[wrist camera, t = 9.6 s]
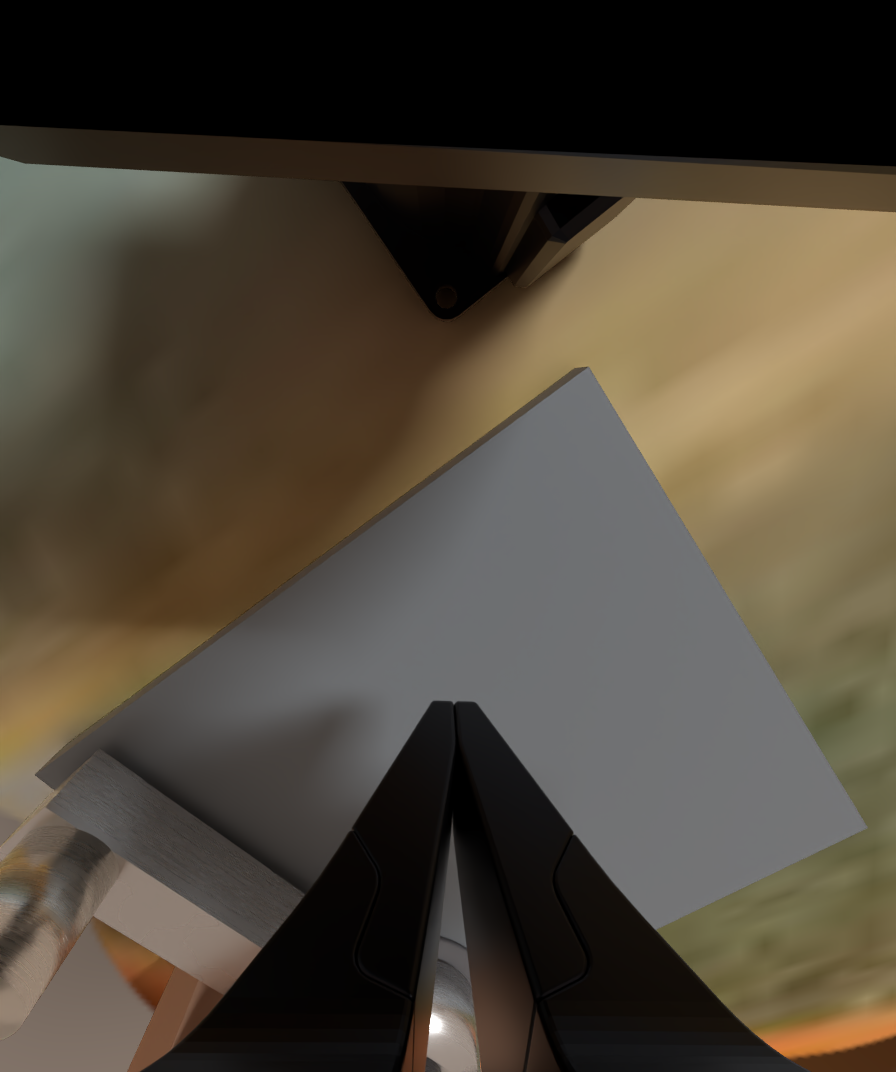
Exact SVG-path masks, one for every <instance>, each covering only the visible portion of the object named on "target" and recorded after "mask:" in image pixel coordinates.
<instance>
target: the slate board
mask: <svg viewBox="0 0 896 1072" xmlns="http://www.w3.org/2000/svg"><path fill="white" fill-rule="evenodd" d="M435 700H439V701H452V702H453V704H455V702H456V701H473V702H476V703H477V704H478V705H479V707H480V708H481V709H482V711H483V712H484V713H485V715H486V716H487V717H488V719H489V720H490V721H491V723H492V724H493V725H494V727H495V728H496V729H497V731H498V732H499V733H500V734H501V736H502V737H503V738H504V740H505V741H506V742H507V744H508V745H509V746H510V748H511V749H512V750H513V752H514V753H515V754H516V756H517V757H518V758H519V760H520V761H521V762H522V764H523V765H524V766H525V768H526V769H527V770H528V772H529V773H530V774H531V776H532V777H533V778H534V780H535V781H536V782H537V784H538V785H539V786H540V788H541V789H542V790H543V792H544V793H545V794H546V796H547V797H548V798H549V800H550V801H551V802H552V803H553V805H554V806H555V807H556V809H557V810H558V811H559V813H560V814H561V815H562V817H563V818H564V819H565V821H566V822H567V823H568V825H569V826H570V827H571V829H572V830H573V832H574V835H577V836H578V838H579V839H580V840H581V842H582V843H583V844H584V846H585V847H586V848H587V850H588V851H589V852H590V854H591V855H592V856H593V857H594V859H595V860H596V861H597V863H598V864H599V865H600V866H601V868H602V869H603V870H604V871H605V873H606V874H607V875H608V876H609V878H610V879H611V880H612V881H613V883H614V884H615V885H616V886H617V887H618V888H619V889H620V891H621V892H622V893H623V894H624V895H625V896H626V897H627V899H628V900H629V901H630V902H631V903H632V904H633V905H634V907H635V908H636V909H637V910H638V911H639V912H640V913H641V915H642V916H643V917H644V918H645V919H646V920H647V921H648V922H649V923H650V924H651V925H652V927H653V928H654V929H655V930H656V929H658V928H660V927H662V926H665V925H667V924H669V923H671V922H673V921H675V920H677V919H679V918H681V917H683V916H685V915H687V914H690V913H692V912H694V911H696V910H698V909H700V908H702V907H704V906H706V905H708V904H710V903H712V902H714V901H717V900H719V899H721V898H723V897H725V896H727V895H729V894H731V893H733V892H735V891H737V890H739V889H742V888H744V887H746V886H748V885H750V884H752V883H754V882H756V881H758V880H760V879H762V878H764V877H766V876H769V875H771V874H773V873H775V872H777V871H779V870H781V869H783V868H785V867H787V866H789V865H791V864H794V863H796V862H798V861H800V860H802V859H804V858H806V857H808V856H810V855H812V854H814V853H816V852H818V851H821V850H823V849H825V848H827V847H829V846H831V845H833V844H835V843H837V842H839V841H841V840H843V839H846V838H848V837H850V836H852V835H854V834H856V833H858V832H860V831H862V830H864V829H866V828H868V827H867V826H866V824H865V822H864V821H863V819H862V817H861V816H860V814H859V812H858V811H857V809H856V808H855V806H854V804H853V803H852V801H851V799H850V798H849V796H848V794H847V793H846V791H845V789H844V788H843V786H842V784H841V783H840V781H839V779H838V778H837V776H836V774H835V773H834V771H833V770H832V768H831V766H830V765H829V763H828V761H827V760H826V758H825V756H824V755H823V753H822V751H821V750H820V748H819V746H818V745H817V743H816V741H815V740H814V738H813V736H812V735H811V733H810V732H809V730H808V728H807V727H806V725H805V723H804V722H803V720H802V718H801V717H800V715H799V713H798V712H797V710H796V708H795V707H794V705H793V703H792V702H791V700H790V698H789V697H788V695H787V694H786V692H785V690H784V689H783V687H782V685H781V684H780V682H779V680H778V679H777V677H776V675H775V674H774V672H773V670H772V669H771V667H770V665H769V664H768V662H767V660H766V659H765V657H764V656H763V654H762V652H761V651H760V649H759V647H758V646H757V644H756V642H755V641H754V639H753V637H752V636H751V634H750V632H749V631H748V629H747V627H746V626H745V624H744V622H743V621H742V619H741V618H740V616H739V614H738V613H737V611H736V609H735V608H734V606H733V604H732V603H731V601H730V599H729V598H728V596H727V594H726V593H725V591H724V589H723V588H722V586H721V584H720V583H719V581H718V580H717V578H716V576H715V575H714V573H713V571H712V570H711V568H710V566H709V565H708V563H707V561H706V560H705V558H704V556H703V555H702V553H701V551H700V550H699V548H698V546H697V545H696V543H695V542H694V540H693V538H692V537H691V535H690V533H689V532H688V530H687V528H686V527H685V525H684V523H683V522H682V520H681V518H680V517H679V515H678V513H677V512H676V510H675V508H674V507H673V505H672V504H671V502H670V500H669V499H668V497H667V495H666V494H665V492H664V490H663V489H662V487H661V485H660V484H659V482H658V480H657V479H656V477H655V475H654V474H653V472H652V470H651V469H650V467H649V466H648V464H647V462H646V461H645V459H644V457H643V456H642V454H641V452H640V451H639V449H638V447H637V446H636V444H635V442H634V441H633V439H632V437H631V436H630V434H629V433H628V431H627V429H626V428H625V426H624V424H623V423H622V421H621V419H620V418H619V416H618V414H617V413H616V411H615V409H614V408H613V406H612V404H611V403H610V401H609V399H608V398H607V396H606V395H605V393H604V391H603V390H602V388H601V386H600V385H599V383H598V381H597V380H596V378H595V376H594V375H593V373H592V371H591V370H590V368H589V367H581V368H575V369H573V370H572V371H570V372H569V373H568V374H566V375H565V376H564V377H562V378H561V379H560V380H558V381H557V382H556V383H554V384H553V385H552V386H550V387H549V388H547V389H546V390H545V391H543V392H542V393H541V394H539V395H538V396H537V397H535V398H534V399H533V400H531V401H530V402H529V403H527V404H526V405H525V406H523V407H522V408H520V409H519V410H518V411H516V412H515V413H514V414H512V415H511V416H510V417H508V418H507V419H506V420H504V421H503V422H502V423H500V424H499V425H498V426H496V427H495V428H493V429H492V430H491V431H489V432H488V433H487V434H485V435H484V436H483V437H481V438H480V439H479V440H477V441H476V442H475V443H473V444H472V445H471V446H469V447H468V448H466V449H465V450H464V451H462V452H461V453H460V454H458V455H457V456H456V457H454V458H453V459H452V460H450V461H449V462H448V463H446V464H445V465H444V466H442V467H441V468H439V469H438V470H437V471H435V472H434V473H433V474H431V475H430V476H429V477H427V478H426V479H425V480H423V481H422V482H421V483H419V484H418V485H416V486H415V487H414V488H412V489H411V490H410V491H408V492H407V493H406V494H404V495H403V496H402V497H400V498H399V499H398V500H396V501H395V502H394V503H392V504H391V505H389V506H388V507H387V508H385V509H384V510H383V511H381V512H380V513H379V514H377V515H376V516H375V517H373V518H372V519H371V520H369V521H368V522H367V523H365V524H364V525H362V526H361V527H360V528H358V529H357V530H356V531H354V532H353V533H352V534H350V535H349V536H348V537H346V538H345V539H344V540H342V541H341V542H340V543H338V544H337V545H335V546H334V547H333V548H331V549H330V550H329V551H327V552H326V553H325V554H323V555H322V556H321V557H319V558H318V559H317V560H315V561H314V562H313V563H311V564H310V565H308V566H307V567H306V568H304V569H303V570H302V571H300V572H299V573H298V574H296V575H295V576H294V577H292V578H291V579H290V580H288V581H287V582H286V583H284V584H283V585H281V586H280V587H279V588H277V589H276V590H275V591H273V592H272V593H271V594H269V595H268V596H267V597H265V598H264V599H263V600H261V601H260V602H258V603H257V604H256V605H254V606H253V607H252V608H250V609H249V610H248V611H246V612H245V613H244V614H242V615H241V616H240V617H238V618H237V619H236V620H234V621H233V622H231V623H230V624H229V625H227V626H226V627H225V628H223V629H222V630H221V631H219V632H218V633H217V634H215V635H214V636H213V637H211V638H210V639H209V640H207V641H206V642H204V643H203V644H202V645H200V646H199V647H198V648H196V649H195V650H194V651H192V652H191V653H190V654H188V655H187V656H186V657H184V658H183V659H182V660H180V661H179V662H177V663H176V664H175V665H173V666H172V667H171V668H169V669H168V670H167V671H165V672H164V673H163V674H161V675H160V676H159V677H157V678H156V679H155V680H153V681H152V682H150V683H149V684H148V685H146V686H145V687H144V688H142V689H141V690H140V691H138V692H137V693H136V694H134V695H133V696H132V697H130V698H129V699H127V700H126V701H125V702H123V703H122V704H121V705H119V706H118V707H117V708H115V709H114V710H113V711H111V712H110V713H109V714H107V715H106V716H105V717H103V718H102V719H100V720H99V721H98V722H96V723H95V724H94V725H92V726H91V727H90V728H88V729H87V730H86V731H84V732H83V733H82V734H80V735H79V736H78V737H76V738H75V739H73V740H72V741H71V742H69V743H68V744H67V745H65V746H64V747H63V748H62V749H61V750H60V751H59V752H58V753H57V754H56V755H55V756H54V757H53V758H52V759H51V760H50V761H49V762H47V763H46V764H45V765H44V766H43V767H42V768H41V769H40V770H39V771H38V772H37V773H36V774H35V776H37V777H38V778H39V779H41V780H42V781H43V782H45V783H46V784H47V785H48V786H50V787H51V788H52V789H54V790H55V789H56V788H57V787H58V786H59V785H60V784H61V783H62V782H64V781H65V780H66V779H67V778H68V777H69V776H70V775H71V774H72V773H73V772H75V771H76V770H77V769H78V768H79V767H80V766H81V765H82V764H83V763H84V762H85V761H87V760H88V759H89V758H90V757H91V756H92V755H93V754H94V753H95V752H96V751H98V750H99V749H101V750H102V751H104V752H105V753H106V754H108V755H109V756H111V757H112V758H114V759H115V760H116V761H118V762H119V763H121V764H122V765H123V766H125V767H126V768H128V769H129V770H130V771H132V772H133V773H135V774H136V775H138V776H139V777H140V778H142V779H143V780H145V781H146V782H147V783H149V784H150V785H152V786H153V787H154V788H156V789H157V790H159V791H160V792H161V793H163V794H164V795H166V796H167V797H169V798H170V799H171V800H173V801H174V802H176V803H177V804H178V805H180V806H181V807H183V808H184V809H185V810H187V811H188V812H190V813H191V814H193V815H194V816H195V817H197V818H198V819H200V820H201V821H202V822H204V823H205V824H207V825H208V826H209V827H211V828H212V829H214V830H215V831H216V832H218V833H219V834H221V835H222V836H224V837H225V838H226V839H228V840H229V841H231V842H232V843H233V844H235V845H236V846H238V847H239V848H240V849H242V850H243V851H245V852H246V853H247V854H249V855H250V856H252V857H253V858H255V859H256V860H257V861H259V862H260V863H262V864H263V865H264V866H266V867H267V868H269V869H270V870H271V871H273V872H274V873H276V874H277V875H279V876H280V877H281V878H283V879H284V880H286V881H287V882H288V883H290V884H291V885H293V886H294V887H295V888H297V889H298V890H300V891H301V892H302V893H304V894H306V893H307V891H308V890H309V889H310V888H311V886H312V885H313V884H314V882H315V881H316V880H317V878H318V877H319V875H320V874H321V873H322V871H323V870H324V868H325V867H326V865H327V864H328V862H329V861H330V859H331V858H332V856H333V855H334V854H335V852H336V851H337V849H338V847H339V846H340V844H341V843H342V841H343V840H344V838H345V836H346V835H347V833H348V832H349V831H351V828H352V826H353V824H354V823H355V821H356V820H357V818H358V816H359V815H360V813H361V812H362V810H363V809H364V807H365V805H366V804H367V802H368V801H369V799H370V798H371V796H372V794H373V793H374V791H375V790H376V788H377V787H378V785H379V783H380V782H381V780H382V779H383V777H384V776H385V774H386V773H387V771H388V769H389V768H390V766H391V765H392V763H393V762H394V760H395V758H396V757H397V755H398V754H399V752H400V751H401V749H402V747H403V746H404V744H405V743H406V741H407V740H408V738H409V736H410V735H411V733H412V732H413V730H414V729H415V727H416V725H417V724H418V722H419V721H420V719H421V718H422V716H423V714H424V713H425V711H426V710H427V708H428V707H429V705H430V704H431V702H432V701H435ZM437 960H438V961H441V962H444V963H446V964H448V965H450V966H452V967H453V968H455V969H456V970H458V971H459V972H460V973H461V974H463V975H464V977H465V978H466V979H467V980H468V982H469V983H470V985H471V979H470V971H469V963H468V954H467V946H466V938H465V930H464V921H463V913H462V905H461V897H460V888H459V880H458V872H457V864H456V855H455V847H454V837H453V823H452V830H451V842H450V851H449V860H448V869H447V878H446V887H445V896H444V905H443V914H442V923H441V932H440V941H439V950H438V959H437ZM474 1013H475V1012H474Z"/></svg>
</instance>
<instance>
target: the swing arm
mask: <svg viewBox="0 0 896 1072" xmlns="http://www.w3.org/2000/svg"><path fill="white" fill-rule="evenodd" d="M0 860H1V862H0V1041H1V1040H4V1039H6V1038H8V1037H10V1036H12V1035H13V1034H14V1033H16V1031H18V1030H19V1028H20V1027H21V1026H22V1024H23V1023H24V1021H25V1019H26V1018H27V1017H28V1015H29V1013H30V1012H31V1010H32V1008H33V1007H34V1006H35V1004H36V1003H37V1001H38V1000H39V998H40V997H41V995H42V994H43V992H44V990H45V989H46V987H47V986H48V984H49V983H50V981H51V980H52V978H53V977H54V975H55V974H56V972H57V971H58V969H59V967H60V966H61V964H62V963H63V961H64V960H65V958H66V957H67V955H68V954H69V952H70V951H71V949H72V948H73V946H74V944H75V943H76V941H77V940H78V938H79V937H80V935H81V934H82V932H83V931H84V929H85V928H86V926H87V925H88V923H89V922H90V920H91V918H92V917H93V916H94V917H95V918H97V919H99V920H100V921H102V922H104V923H105V924H107V925H109V926H110V927H112V928H114V929H115V930H117V931H119V932H120V933H122V934H123V935H125V936H127V937H128V938H130V939H132V940H133V941H135V942H137V943H138V944H140V945H142V946H143V947H145V948H147V949H148V950H150V951H152V952H153V953H155V954H157V955H158V956H160V957H161V958H163V959H165V960H166V961H168V962H170V963H171V964H173V965H175V966H176V967H178V968H180V969H181V970H183V971H185V972H186V973H188V974H190V975H191V976H193V977H194V978H196V979H198V980H199V981H201V982H203V983H204V984H206V985H208V986H209V987H211V988H213V989H214V990H216V991H218V992H219V993H221V994H223V995H225V993H226V992H227V991H228V990H229V988H230V987H231V986H232V985H233V983H234V982H235V981H236V980H237V979H238V977H239V976H240V975H241V974H242V972H243V971H244V970H245V969H246V967H247V966H248V965H249V964H250V963H251V961H252V960H253V959H254V958H255V956H256V955H257V954H258V953H259V951H260V950H261V949H262V948H263V947H264V945H265V944H266V943H267V942H268V940H269V939H270V938H271V937H272V935H273V934H274V933H275V932H276V931H277V929H278V928H279V927H280V926H281V924H282V923H283V922H284V921H285V919H286V918H287V917H288V916H289V915H290V913H291V912H292V911H293V910H294V908H295V907H296V906H297V904H298V903H299V902H300V900H301V899H302V898H303V897H304V895H305V894H304V893H302V892H301V891H300V890H298V889H297V888H295V887H294V886H293V885H291V884H290V883H288V882H287V881H286V880H284V879H283V878H281V877H280V876H279V875H277V874H276V873H274V872H273V871H271V870H270V869H269V868H267V867H266V866H264V865H263V864H262V863H260V862H259V861H257V860H256V859H255V858H253V857H252V856H250V855H249V854H247V853H246V852H245V851H243V850H242V849H240V848H239V847H238V846H236V845H235V844H233V843H232V842H231V841H229V840H228V839H226V838H225V837H224V836H222V835H221V834H219V833H218V832H216V831H215V830H214V829H212V828H211V827H209V826H208V825H207V824H205V823H204V822H202V821H201V820H200V819H198V818H197V817H195V816H194V815H193V814H191V813H190V812H188V811H187V810H185V809H184V808H183V807H181V806H180V805H178V804H177V803H176V802H174V801H173V800H171V799H170V798H169V797H167V796H166V795H164V794H163V793H161V792H160V791H159V790H157V789H156V788H154V787H153V786H152V785H150V784H149V783H147V782H146V781H145V780H143V779H142V778H140V777H139V776H138V775H136V774H135V773H133V772H132V771H130V770H129V769H128V768H126V767H125V766H123V765H122V764H121V763H119V762H118V761H116V760H115V759H114V758H112V757H111V756H109V755H108V754H106V753H105V752H104V751H102V750H101V749H99V750H98V751H96V752H95V753H94V754H93V755H92V756H91V757H90V758H89V759H88V760H87V761H85V762H84V763H83V764H82V765H81V766H80V767H79V768H78V769H77V770H76V771H75V772H73V773H72V774H71V775H70V776H69V777H68V778H67V779H66V780H65V781H64V782H62V783H61V784H60V785H59V786H58V787H57V788H56V789H55V790H54V791H53V792H52V793H51V794H50V795H49V796H48V797H47V798H46V799H45V800H44V801H43V802H42V803H41V804H40V805H39V806H38V807H37V808H36V809H35V810H34V812H33V813H32V814H31V815H30V816H29V817H28V818H27V819H26V820H25V821H24V822H23V823H22V824H21V825H20V826H19V827H18V828H17V830H16V831H15V832H14V833H13V834H12V835H11V836H10V837H9V838H8V839H7V840H6V841H5V842H4V843H3V844H2V845H1V846H0ZM425 1072H481V1071H480V1053H479V1045H478V1037H477V1029H476V1020H475V1013H474V1004H473V996H472V987H471V985H470V983H469V982H468V980H467V979H466V978H465V977H464V975H463V974H461V973H460V972H459V971H458V970H456V969H455V968H453V967H452V966H450V965H448V964H446V963H444V962H441V961H438V960H437V968H436V977H435V986H434V995H433V1004H432V1013H431V1022H430V1030H429V1039H428V1048H427V1057H426V1066H425Z"/></svg>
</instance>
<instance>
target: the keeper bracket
mask: <svg viewBox="0 0 896 1072" xmlns="http://www.w3.org/2000/svg"><path fill="white" fill-rule="evenodd" d="M223 996H224V995H223V994H221V993H219V992H218V991H216V990H214V989H213V988H211V987H209V986H208V985H206V984H204V983H203V982H201V981H199V980H198V979H196V978H194V977H193V976H191V975H190V974H188V973H186V972H185V971H183V970H181V969H180V968H178V967H176V966H175V968H174V970H173V972H172V974H171V977H170V979H169V981H168V983H167V985H166V988H165V990H164V992H163V994H162V996H161V999H160V1001H159V1003H158V1005H157V1007H156V1010H155V1012H154V1014H153V1016H152V1018H151V1021H150V1023H149V1025H148V1027H147V1029H146V1032H145V1034H144V1036H143V1038H142V1040H141V1043H140V1045H139V1047H138V1049H137V1051H136V1054H135V1056H134V1058H133V1060H132V1062H131V1064H130V1067H129V1069H128V1071H127V1072H140V1071H141V1070H143V1069H144V1068H146V1067H147V1066H149V1065H151V1064H152V1063H154V1062H155V1061H157V1060H158V1059H159V1058H161V1057H162V1056H164V1055H165V1054H166V1053H167V1052H169V1051H170V1050H171V1049H172V1048H174V1047H175V1046H176V1045H177V1044H178V1043H180V1042H181V1041H182V1040H183V1039H184V1038H185V1037H186V1036H187V1035H188V1034H189V1033H190V1032H191V1031H192V1030H193V1029H194V1028H195V1027H196V1026H197V1025H198V1024H199V1023H200V1022H201V1021H202V1020H203V1019H204V1018H205V1017H206V1016H207V1015H208V1014H209V1012H210V1011H211V1010H212V1009H213V1008H214V1007H215V1005H216V1004H217V1003H218V1002H219V1001H220V999H221V998H222V997H223Z"/></svg>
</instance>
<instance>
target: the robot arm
mask: <svg viewBox="0 0 896 1072" xmlns="http://www.w3.org/2000/svg"><path fill="white" fill-rule="evenodd" d="M0 156H1V157H4V158H7V159H11V160H14V161H18V162H21V163H25V164H43V165H61V166H79V167H97V168H115V169H133V170H150V171H168V172H186V173H204V174H222V175H240V176H258V177H275V178H293V179H311V180H329V181H340V182H341V183H342V185H343V186H344V188H345V189H346V191H347V192H348V193H349V195H350V196H351V198H352V199H353V201H354V202H355V204H356V205H357V207H358V208H359V210H360V211H361V213H362V214H363V215H364V217H365V218H366V220H367V221H368V223H369V224H370V226H371V227H372V229H373V230H374V232H375V233H376V234H377V236H378V237H379V239H380V240H381V242H382V243H383V245H384V246H385V248H386V249H387V251H388V252H389V254H390V255H391V256H392V258H393V259H394V261H395V262H396V264H397V265H398V267H399V268H400V270H401V271H402V273H403V274H404V275H405V277H406V278H407V280H408V281H409V283H410V284H411V286H412V287H413V289H414V290H415V292H416V293H417V294H418V296H419V297H420V299H421V300H422V302H423V303H424V305H425V306H426V308H427V309H428V311H429V312H430V313H431V314H432V315H433V316H434V317H435V318H436V319H438V320H441V321H443V322H446V321H453V320H455V319H457V318H458V317H460V316H461V315H462V314H463V313H465V312H466V311H467V310H468V309H470V308H471V307H472V306H473V305H475V304H476V303H477V302H478V301H480V300H481V299H482V298H483V297H485V296H486V295H487V294H488V293H490V292H491V291H492V290H493V289H495V288H496V287H497V286H498V285H500V284H501V283H502V282H503V281H505V280H506V279H507V278H508V277H509V279H510V280H511V282H512V283H513V285H514V286H518V287H524V288H527V287H528V286H529V285H531V284H532V283H533V282H534V281H536V280H537V279H538V278H539V277H541V276H542V275H543V274H545V273H546V272H547V271H548V270H550V269H551V268H552V267H553V266H555V265H556V264H557V263H558V262H560V261H561V260H562V259H563V258H565V257H566V256H567V255H569V254H570V253H571V252H572V251H574V250H575V249H576V248H577V247H579V246H580V245H581V244H582V243H584V242H585V241H586V240H587V239H589V238H590V237H591V236H593V235H594V234H595V233H596V232H598V231H599V230H600V229H601V228H603V227H604V226H605V225H606V224H608V223H609V222H610V221H611V220H613V219H614V218H615V217H616V216H617V215H618V214H619V213H620V212H622V211H623V210H624V209H625V208H626V207H627V206H628V205H629V204H630V203H631V202H632V201H633V200H634V199H635V198H651V199H668V200H686V201H704V202H722V203H740V204H758V205H776V206H793V207H811V208H829V209H847V210H865V211H883V212H896V0H0ZM443 288H450V289H452V290H453V291H454V292H455V294H456V297H457V301H456V303H455V304H454V306H453V307H451V308H448V309H446V308H442V307H441V306H440V305H438V303H437V300H436V295H437V293H438V292H439V291H440V290H441V289H443ZM452 823H453V837H454V847H455V855H456V864H457V872H458V880H459V888H460V897H461V905H462V913H463V921H464V930H465V938H466V946H467V954H468V963H469V971H470V979H471V987H472V996H473V1004H474V1012H475V1020H476V1029H477V1037H478V1045H479V1053H480V1062H481V1070H482V1072H810V1071H808V1070H807V1069H805V1068H803V1067H801V1066H800V1065H798V1064H796V1063H794V1062H793V1061H791V1060H789V1059H787V1058H786V1057H784V1056H783V1055H782V1054H780V1053H779V1052H777V1051H776V1050H774V1049H773V1048H772V1047H770V1046H769V1045H768V1044H767V1043H765V1042H764V1041H763V1040H762V1039H760V1038H759V1037H758V1036H757V1035H755V1034H754V1033H753V1032H752V1031H751V1030H750V1029H749V1028H748V1027H747V1026H745V1025H744V1024H743V1023H742V1022H741V1021H740V1020H739V1019H738V1018H737V1017H736V1016H735V1015H734V1014H733V1013H732V1012H731V1011H730V1010H729V1009H728V1008H727V1007H726V1006H725V1005H724V1004H723V1003H722V1002H721V1001H720V1000H719V999H718V997H717V996H716V995H715V994H714V993H713V992H712V991H711V990H710V989H709V988H708V987H707V985H706V984H705V983H704V982H703V981H702V980H701V979H700V978H699V977H698V976H697V975H696V973H695V972H694V971H693V970H692V969H691V968H690V967H689V966H688V965H687V964H686V963H685V961H684V960H683V959H682V958H681V957H680V956H679V955H678V954H677V953H676V952H675V951H674V949H673V948H672V947H671V946H670V945H669V944H668V943H667V942H666V941H665V940H664V939H663V937H662V936H661V935H660V934H659V933H658V932H657V931H656V930H655V929H654V928H653V927H652V925H651V924H650V923H649V922H648V921H647V920H646V919H645V918H644V917H643V916H642V915H641V913H640V912H639V911H638V910H637V909H636V908H635V907H634V905H633V904H632V903H631V902H630V901H629V900H628V899H627V897H626V896H625V895H624V894H623V893H622V892H621V891H620V889H619V888H618V887H617V886H616V885H615V884H614V883H613V881H612V880H611V879H610V878H609V876H608V875H607V874H606V873H605V871H604V870H603V869H602V868H601V866H600V865H599V864H598V863H597V861H596V860H595V859H594V857H593V856H592V855H591V854H590V852H589V851H588V850H587V848H586V847H585V846H584V844H583V843H582V842H581V840H580V839H579V838H578V836H577V835H574V832H573V830H572V829H571V827H570V826H569V825H568V823H567V822H566V821H565V819H564V818H563V817H562V815H561V814H560V813H559V811H558V810H557V809H556V807H555V806H554V805H553V803H552V802H551V801H550V800H549V798H548V797H547V796H546V794H545V793H544V792H543V790H542V789H541V788H540V786H539V785H538V784H537V782H536V781H535V780H534V778H533V777H532V776H531V774H530V773H529V772H528V770H527V769H526V768H525V766H524V765H523V764H522V762H521V761H520V760H519V758H518V757H517V756H516V754H515V753H514V752H513V750H512V749H511V748H510V746H509V745H508V744H507V742H506V741H505V740H504V738H503V737H502V736H501V734H500V733H499V732H498V731H497V729H496V728H495V727H494V725H493V724H492V723H491V721H490V720H489V719H488V717H487V716H486V715H485V713H484V712H483V711H482V709H481V708H480V707H479V705H478V704H477V703H476V702H473V701H456V702H455V704H453V702H452V701H439V700H435V701H432V702H431V704H430V705H429V707H428V708H427V710H426V711H425V713H424V714H423V716H422V718H421V719H420V721H419V722H418V724H417V725H416V727H415V729H414V730H413V732H412V733H411V735H410V736H409V738H408V740H407V741H406V743H405V744H404V746H403V747H402V749H401V751H400V752H399V754H398V755H397V757H396V758H395V760H394V762H393V763H392V765H391V766H390V768H389V769H388V771H387V773H386V774H385V776H384V777H383V779H382V780H381V782H380V783H379V785H378V787H377V788H376V790H375V791H374V793H373V794H372V796H371V798H370V799H369V801H368V802H367V804H366V805H365V807H364V809H363V810H362V812H361V813H360V815H359V816H358V818H357V820H356V821H355V823H354V824H353V826H352V828H351V831H349V832H348V833H347V835H346V836H345V838H344V840H343V841H342V843H341V844H340V846H339V847H338V849H337V851H336V852H335V854H334V855H333V856H332V858H331V859H330V861H329V862H328V864H327V865H326V867H325V868H324V870H323V871H322V873H321V874H320V875H319V877H318V878H317V880H316V881H315V882H314V884H313V885H312V886H311V888H310V889H309V890H308V891H307V893H306V894H305V895H304V897H303V898H302V899H301V900H300V902H299V903H298V904H297V906H296V907H295V908H294V910H293V911H292V912H291V913H290V915H289V916H288V917H287V918H286V919H285V921H284V922H283V923H282V924H281V926H280V927H279V928H278V929H277V931H276V932H275V933H274V934H273V935H272V937H271V938H270V939H269V940H268V942H267V943H266V944H265V945H264V947H263V948H262V949H261V950H260V951H259V953H258V954H257V955H256V956H255V958H254V959H253V960H252V961H251V963H250V964H249V965H248V966H247V967H246V969H245V970H244V971H243V972H242V974H241V975H240V976H239V977H238V979H237V980H236V981H235V982H234V983H233V985H232V986H231V987H230V988H229V990H228V991H227V992H226V993H225V995H224V996H223V997H222V998H221V999H220V1001H219V1002H218V1003H217V1004H216V1005H215V1007H214V1008H213V1009H212V1010H211V1011H210V1012H209V1014H208V1015H207V1016H206V1017H205V1018H204V1019H203V1020H202V1021H201V1022H200V1023H199V1024H198V1025H197V1026H196V1027H195V1028H194V1029H193V1030H192V1031H191V1032H190V1033H189V1034H188V1035H187V1036H186V1037H185V1038H184V1039H183V1040H182V1041H181V1042H180V1043H178V1044H177V1045H176V1046H175V1047H174V1048H172V1049H171V1050H170V1051H169V1052H167V1053H166V1054H165V1055H164V1056H162V1057H161V1058H159V1059H158V1060H157V1061H155V1062H154V1063H152V1064H151V1065H149V1066H147V1067H146V1068H144V1069H143V1070H141V1071H140V1072H425V1066H426V1057H427V1048H428V1039H429V1030H430V1022H431V1013H432V1004H433V995H434V986H435V977H436V968H437V959H438V950H439V941H440V932H441V923H442V914H443V905H444V896H445V887H446V878H447V869H448V860H449V851H450V842H451V830H452Z"/></svg>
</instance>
